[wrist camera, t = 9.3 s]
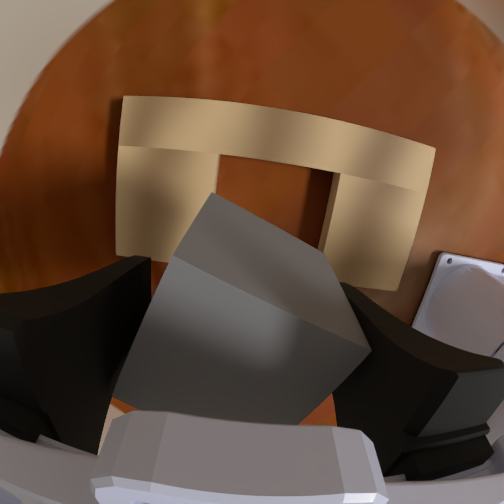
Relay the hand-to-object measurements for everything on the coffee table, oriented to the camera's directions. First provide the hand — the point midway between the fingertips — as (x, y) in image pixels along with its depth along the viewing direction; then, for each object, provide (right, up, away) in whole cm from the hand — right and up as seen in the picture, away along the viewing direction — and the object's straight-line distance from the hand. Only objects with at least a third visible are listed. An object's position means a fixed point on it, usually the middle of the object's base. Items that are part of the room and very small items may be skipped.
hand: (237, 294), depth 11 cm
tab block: (0, +1, +2) cm, 2 cm away
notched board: (+2, +5, +8) cm, 10 cm away
